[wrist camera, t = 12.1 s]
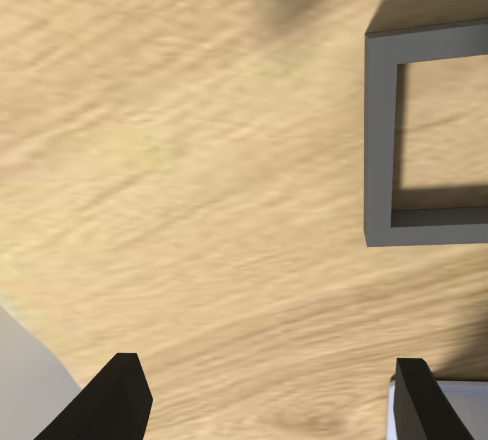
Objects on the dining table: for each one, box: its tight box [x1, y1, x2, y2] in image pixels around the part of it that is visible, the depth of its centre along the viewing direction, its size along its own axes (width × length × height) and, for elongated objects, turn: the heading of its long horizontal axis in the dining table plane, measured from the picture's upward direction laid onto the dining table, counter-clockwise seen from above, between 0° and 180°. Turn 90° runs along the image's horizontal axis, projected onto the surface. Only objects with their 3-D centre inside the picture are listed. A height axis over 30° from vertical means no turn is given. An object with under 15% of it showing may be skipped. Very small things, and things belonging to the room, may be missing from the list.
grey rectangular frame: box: [364, 18, 488, 247], centre depth 17 cm, size 9×8×2 cm
